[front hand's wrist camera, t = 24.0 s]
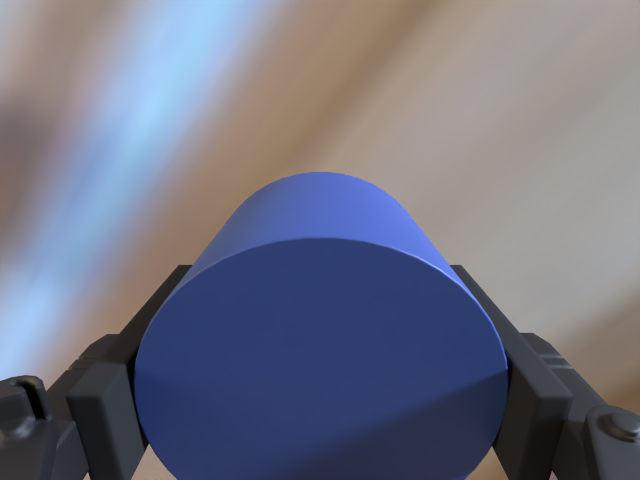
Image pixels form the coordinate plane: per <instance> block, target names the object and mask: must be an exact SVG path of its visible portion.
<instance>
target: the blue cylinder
mask: <svg viewBox="0 0 640 480" xmlns="http://www.w3.org/2000/svg"><path fill="white" fill-rule="evenodd" d="M133 383H134V399H135V405H136V409H137V414H138V418H139V422H140V424H141V427H142V429H143V432H144V434H145V436H146V439H147V440H148V442H149V444H150V446H151V447H152V449H153V451H154V452H155V454H156V455H157V457H158V458H159V459H160V461H161V462H162V463H163V464H164V466H165V467H166V468H167V470H168V471H169V472H170V473H171V474H172V475H173V476H174V477H175V478H177V479H178V480H465V479H466V478H467V477H468V476H469V475H470V474H471V473H472V472H473V471H474V470H475V469H476V467H477V466H478V465H479V463H480V462H481V461H482V460H483V458H484V457H485V456H486V454H487V453H488V451H489V449H490V448H491V446H492V444H493V442H494V441H495V439H496V437H497V435H498V432H499V430H500V427H501V425H502V421H503V417H504V413H505V408H506V404H507V399H508V388H509V377H508V368H507V360H506V356H505V353H504V349H503V346H502V343H501V339H500V337H499V335H498V333H497V331H496V329H495V327H494V325H493V323H492V321H491V319H490V318H489V316H488V315H487V313H486V312H485V311H484V309H483V308H482V306H481V305H480V304H479V302H478V301H477V300H476V298H475V297H474V296H473V295H472V293H471V292H470V291H469V289H468V288H467V287H466V286H465V284H464V283H463V282H462V281H461V279H460V278H459V277H458V276H457V274H456V273H455V272H454V271H453V269H452V268H451V267H450V266H449V264H448V263H447V262H446V261H445V259H444V258H443V257H442V255H441V254H440V253H439V252H438V250H437V249H436V248H435V247H434V245H433V244H432V243H431V242H430V240H429V239H428V238H427V237H426V235H425V234H424V233H423V232H422V230H421V229H420V228H419V227H418V225H417V224H416V223H415V221H414V220H413V219H412V218H411V216H410V215H409V214H408V213H407V211H406V210H405V209H404V208H403V207H402V206H401V205H400V204H399V203H398V202H397V201H396V200H395V199H394V198H393V197H391V196H390V195H389V194H387V193H386V192H385V191H383V190H382V189H380V188H378V187H376V186H375V185H373V184H371V183H369V182H366V181H364V180H361V179H359V178H356V177H352V176H348V175H345V174H338V173H330V172H311V173H303V174H297V175H293V176H289V177H286V178H282V179H280V180H278V181H275V182H273V183H271V184H268V185H267V186H265V187H263V188H262V189H260V190H258V191H257V192H255V193H254V194H253V195H252V196H250V197H249V198H248V199H247V200H245V201H244V202H243V203H242V204H241V205H240V207H239V208H238V209H237V210H236V211H235V212H234V213H233V215H232V216H231V217H230V218H229V220H228V221H227V222H226V223H225V225H224V226H223V227H222V229H221V230H220V231H219V232H218V234H217V235H216V236H215V238H214V239H213V240H212V241H211V243H210V244H209V245H208V246H207V248H206V249H205V250H204V252H203V253H202V254H201V255H200V257H199V258H198V259H197V261H196V262H195V263H194V264H193V266H192V267H191V268H190V269H189V271H188V272H187V273H186V275H185V276H184V277H183V278H182V280H181V281H180V282H179V283H178V285H177V286H176V287H175V289H174V290H173V291H172V292H171V294H170V295H169V296H168V298H167V299H166V300H165V301H164V303H163V304H162V306H161V307H160V308H159V310H158V311H157V313H156V314H155V316H154V317H153V318H152V320H151V321H150V324H149V326H148V328H147V330H146V332H145V334H144V336H143V338H142V340H141V344H140V347H139V351H138V354H137V358H136V362H135V372H134V381H133Z"/></svg>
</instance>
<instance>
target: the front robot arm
mask: <svg viewBox="0 0 640 480" xmlns="http://www.w3.org/2000/svg"><path fill="white" fill-rule="evenodd" d="M192 266H193V265H178V267H177V268H176V269H175V270H174V271H173V272H172V273H171V275H170V276H169V277H168V278H167V279H166V280H165V282H164V283H163V284H162V285H161V286H160V287H159V288H158V290H157V291H156V292H155V293H154V294H153V295H152V297H151V298H150V299H149V300H148V301H147V302H146V304H145V305H144V306H143V307H142V308H141V309H140V310H139V312H138V313H137V314H136V315H135V316H134V317H133V319H132V320H131V321H130V322H129V323H128V324H127V325H126V327H125V328H124V329H123V330H122V331H121V332H120V334H107V335H105V336H104V337H102V338H100V339H99V340H97V341H96V342H94V343H92V344H91V345H90V346H89V347H88V348H87V349H86V350H85V351H84V352H83V353H82V354H81V355H80V356H79V359H78V360H76V361H75V362H74V363H73V364H72V365H71V366H70V367H69V370H66V371H65V372H64V373H63V374H62V375H61V376H60V377H59V379H58V380H57V381H56V382H55V383H54V384H53V385H52V386H51V387H50V388H49V389H48V390H47V391H46V390H45V387H44V384H43V381H42V380H41V379H39V378H38V377H36V376H28V375H24V376H18V377H11V378H8V379H5V380H2V381H0V480H83V479H84V477H85V475H86V474H87V472H88V473H89V476H90V479H91V480H131V478H132V476H133V474H134V472H135V470H136V468H137V466H138V464H139V462H140V460H141V458H142V456H143V454H144V452H145V450H146V448H147V446H148V444H149V442H148V440H147V439H146V436H145V434H144V432H143V429H142V427H141V424H140V422H139V418H138V414H137V409H136V405H135V399H134V383H133V381H134V372H135V362H136V358H137V354H138V351H139V347H140V344H141V340H142V338H143V336H144V334H145V332H146V330H147V328H148V326H149V324H150V321H151V320H152V318H153V317H154V316H155V314H156V313H157V311H158V310H159V308H160V307H161V306H162V304H163V303H164V301H165V300H166V299H167V298H168V296H169V295H170V294H171V292H172V291H173V290H174V289H175V287H176V286H177V285H178V283H179V282H180V281H181V280H182V278H183V277H184V276H185V275H186V273H187V272H188V271H189V269H190V268H191V267H192ZM449 266H450V267H451V268H452V269H453V271H454V272H455V273H456V274H457V276H458V277H459V278H460V279H461V281H462V282H463V283H464V284H465V286H466V287H467V288H468V289H469V291H470V292H471V293H472V295H473V296H474V297H475V298H476V300H477V301H478V302H479V304H480V305H481V306H482V308H483V309H484V311H485V312H486V313H487V315H488V316H489V318H490V319H491V321H492V323H493V325H494V327H495V329H496V331H497V333H498V335H499V337H500V339H501V343H502V346H503V349H504V353H505V356H506V360H507V368H508V377H509V388H508V399H507V404H506V408H505V413H504V417H503V421H502V425H501V427H500V430H499V432H498V435H497V437H496V439H495V441H494V442H493V444H492V447H493V449H494V451H495V453H496V455H497V457H498V459H499V461H500V463H501V465H502V467H503V469H504V471H505V473H506V475H507V477H508V479H509V480H549V478H550V475H551V472H552V471H553V472H554V474H555V476H556V477H557V479H558V480H640V417H639V416H638V415H636V414H634V413H632V412H630V411H627V410H625V409H622V408H619V407H615V406H609V405H608V404H607V403H606V402H605V401H604V400H603V399H602V398H601V397H600V396H599V395H598V394H597V393H596V392H595V391H594V390H593V389H592V388H591V386H590V385H589V384H588V383H587V382H586V381H585V380H584V379H583V378H582V377H581V376H580V375H579V374H578V373H577V372H576V371H575V370H574V369H572V368H571V365H570V364H569V363H568V362H567V361H566V360H565V359H564V358H562V357H561V355H560V354H559V353H558V352H557V351H556V350H555V349H554V348H553V347H552V345H551V344H550V343H548V342H546V341H545V340H543V339H542V338H540V337H538V336H537V335H535V334H534V333H519V332H518V330H517V329H516V328H515V327H514V326H513V325H512V323H511V322H510V321H509V320H508V319H507V318H506V317H505V315H504V314H503V313H502V312H501V311H500V310H499V308H498V307H497V306H496V305H495V304H494V303H493V301H492V300H491V299H490V298H489V297H488V296H487V295H486V293H485V292H484V291H483V290H482V289H481V288H480V286H479V285H478V284H477V283H476V282H475V281H474V280H473V278H472V277H471V276H470V275H469V274H468V273H467V271H466V270H465V269H464V268H463V267H462V266H461V265H449Z"/></svg>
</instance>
